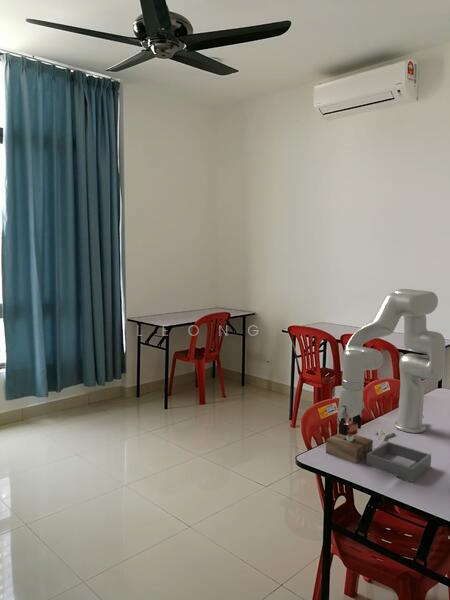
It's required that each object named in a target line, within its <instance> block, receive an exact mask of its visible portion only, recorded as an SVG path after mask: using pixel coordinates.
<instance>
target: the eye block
mask: <svg viewBox="0 0 450 600" xmlns="http://www.w3.org/2000/svg"><path fill="white" fill-rule="evenodd" d="M373 443H374V439H371V438H367V437H364V436H363V435H358V434H354V435H353V442H352V443H351V442H348V441H346V436H345V435H342V434H339V432H338V433H335V435H332V436H330V437H328V438H326V441H325V454H328V455H330V456H333V457H336V458H339V459H342V460H344V461H347V462H350V463H353V464H358V463H359V462H361V461H362V460H364V459H365V458H366V455H367V453H369V452H370V451H372V450H373V449H372V447H373V446H374V445H373Z"/></svg>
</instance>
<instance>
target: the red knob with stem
mask: <svg viewBox="0 0 450 600" xmlns="http://www.w3.org/2000/svg"><path fill="white" fill-rule="evenodd" d="M347 425H348V434H347V436H346V441H348V442H351V443H352V442H353V435H354V434H355V435H358V433H359V432H358V431H359V430H358V424H357V423H356V422H353V420H352V421H350V420H348V423H347Z"/></svg>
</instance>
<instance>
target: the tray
mask: <svg viewBox="0 0 450 600" xmlns="http://www.w3.org/2000/svg"><path fill="white" fill-rule="evenodd" d="M374 448H375V447H374ZM388 453H390V454H393V455H396V456H400V457H402V458H406V459H409V460H412V461H415V462H413V464H411V465H410V466H407V465H404V464H402V463H399V462H395V461H393V460H389V459H386V458H383V457H382V456H384V455H385V454H388ZM431 463H432V454H430V453H427V452H424V451H421V450H417V449H414V448H411V447H408V446H406V445H405V446H404V445H401V444H398V443H395V442H391V441H388V440H387V441H384V442H383V443H382V445H378V446H377V447H376V448H375V449H372V451H370V452H369V453H367V455H366V459H365V464H366V465H369V466H371V467H375V468H377V469H380V470H382V471H385V472H388V473H391V474H394V475H396V478H397V479H400V480H403V481H405V482H408V483H410V484H411V483H413V482H414V481H416V480H417V479H418V478H420V477H421V476H422V475H424V474H425V472H426V471H428V470H429V469H430V468H431V467H432V465H431Z"/></svg>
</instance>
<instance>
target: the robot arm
mask: <svg viewBox="0 0 450 600" xmlns="http://www.w3.org/2000/svg"><path fill="white" fill-rule="evenodd" d="M438 303H439V299H438V296H437V294H436V293H435V292H433V291H429V290H421V289H420V290H419V289H413V288H412V289H411V288H398V289H396V290H394V292H390V293H388V294H387V295H385V297H384V299H383V301H382V302H381V305H380V306H379V308H378V310H377V312H376V314H375V316H374V317H373V319H372V321H371V322H370V323H368V324H366V325H363V326H362V327H361V328H360V329H358V330H357V331H355V332H354V333H353V335H351V337H350V338H349V340H348V342H347V344H346V346H345V348H344V351H343V358H342V359H343V361H342V377H341V390H340V395H339V401H338V408H337V409H338V410H337V422H338V433H339V434H342V435H345V436H347V434H348V425H347V423H348V421H350V419H352V422H356V423H357V424H358V429H359V430H360V429H362V418H363V412H364V407H365V403H364V389H365V388H364V386H365V384H364V383H365V371H375V370H378V369H379V368H380V367H382V365H383V364H384V356H383V353H382V352H381V351H379V350H378V349H375V348H370V347H365V346H363V345H364V344H366V343H368V342H369V341H372V340H374V339H375V340H376V339H379V338H383V337H388V336H390V335H392V334H393V333H394V331H395V329H396V328H397V326H398V323H399V321H400V320H401V318H402V317H403V320H404V322H403V324H404V325H403V345H404V348H405V349H406V350H408V351H410V352H414V353H406V354H403V355H402V356H401V357H400V359H399V363H398V365H399V367H398V368H399V374H400V384H399V385H400V386H399V387H400V388H399V403H398V416H397V420H395V421H394V422H393V427H394V428H396V429H397V430H399V431H403V432H406V433H413V434H417V433H418V434H419V433H424V432H426V430H427V429H426V425H425V424H423V419H424V418H425V417H424V414H423V413H424V401H425V399H424V398H425V386H424V383H423V380H425V381H429V382H433V383H434V382H435V383H436V382H440V381H441V380H442V379H443V377H444V374H445V364H446V363H445V362H446V339H445V337H444V335H443V334H442V333H440V332H437V331H434V330H433V331H432V330H428V329H427V316H426V315H430V314H432V313H433V312H434V311H435V310H436V309H437V307H438ZM416 353H419V354H416ZM421 354H425V355H421ZM426 355H428V356H426Z"/></svg>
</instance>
